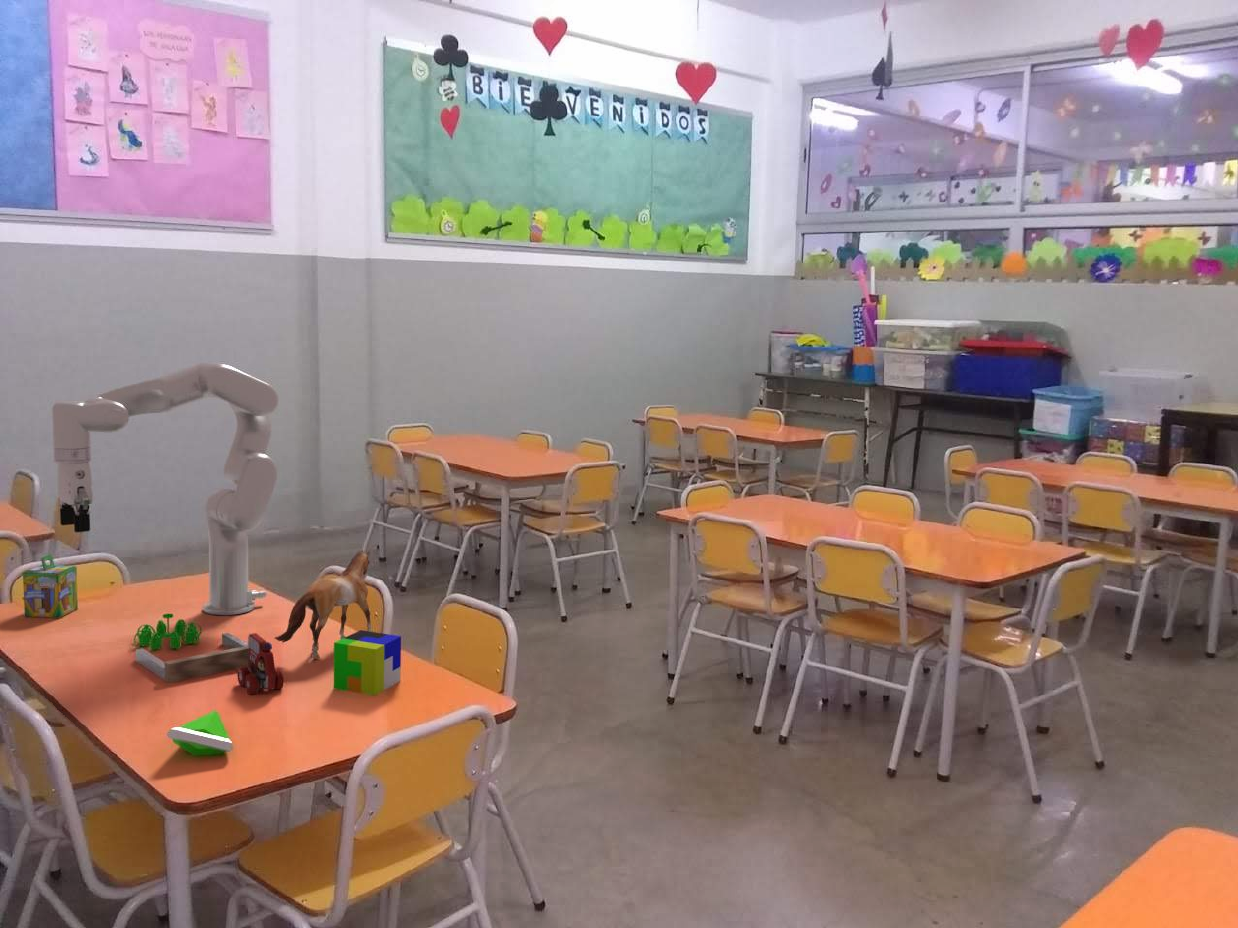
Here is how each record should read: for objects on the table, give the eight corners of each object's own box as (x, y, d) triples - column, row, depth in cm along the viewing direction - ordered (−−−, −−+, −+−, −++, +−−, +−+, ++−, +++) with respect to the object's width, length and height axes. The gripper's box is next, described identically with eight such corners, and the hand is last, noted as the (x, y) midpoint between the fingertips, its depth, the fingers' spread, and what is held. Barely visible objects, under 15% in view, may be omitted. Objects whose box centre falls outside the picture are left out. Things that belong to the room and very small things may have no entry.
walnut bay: (228, 643, 246) (228, 626, 246) (263, 662, 234) (263, 645, 233) (135, 660, 232) (135, 643, 231) (168, 682, 219) (168, 664, 218)
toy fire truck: (253, 699, 212) (253, 650, 210) (234, 681, 221) (234, 634, 220) (287, 693, 216) (287, 644, 214) (267, 676, 226) (267, 629, 224)
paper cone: (181, 721, 204) (159, 753, 180) (190, 694, 205) (170, 722, 180) (239, 735, 207) (226, 768, 183) (248, 708, 207) (236, 738, 183)
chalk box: (59, 619, 260) (57, 560, 258) (23, 617, 260) (20, 559, 258) (79, 609, 269) (77, 552, 267) (44, 607, 269) (42, 550, 267)
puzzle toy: (400, 681, 226) (401, 636, 225) (375, 696, 217) (375, 649, 215) (360, 674, 229) (360, 630, 228) (333, 688, 220) (333, 642, 218)
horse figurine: (362, 628, 262) (363, 548, 259) (388, 633, 259) (388, 552, 256) (273, 662, 234) (273, 572, 231) (300, 668, 231) (300, 577, 228)
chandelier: (155, 632, 253) (154, 604, 252) (214, 636, 252) (214, 608, 251) (119, 651, 238) (119, 621, 237) (182, 655, 237) (182, 626, 236)
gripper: (102, 458, 238) (105, 532, 240) (77, 449, 250) (80, 520, 253) (67, 460, 233) (70, 536, 235) (42, 451, 245) (45, 523, 247)
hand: (75, 527), depth 244 cm, fingers open, 9 cm apart
